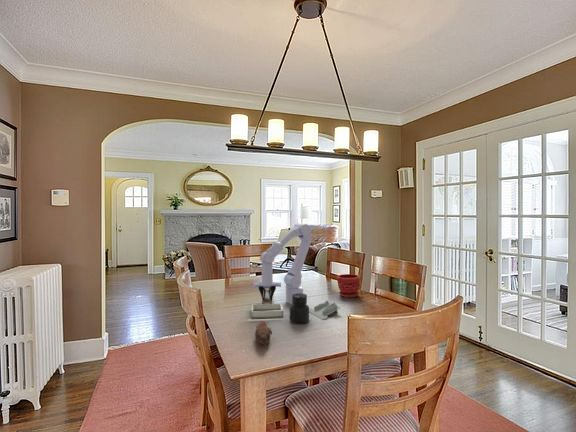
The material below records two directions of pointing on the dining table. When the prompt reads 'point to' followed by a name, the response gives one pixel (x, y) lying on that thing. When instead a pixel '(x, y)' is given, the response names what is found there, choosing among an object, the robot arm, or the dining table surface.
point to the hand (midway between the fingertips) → (267, 300)
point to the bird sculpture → (263, 333)
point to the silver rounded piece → (267, 295)
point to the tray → (267, 313)
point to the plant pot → (348, 285)
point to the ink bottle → (299, 309)
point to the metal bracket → (324, 309)
